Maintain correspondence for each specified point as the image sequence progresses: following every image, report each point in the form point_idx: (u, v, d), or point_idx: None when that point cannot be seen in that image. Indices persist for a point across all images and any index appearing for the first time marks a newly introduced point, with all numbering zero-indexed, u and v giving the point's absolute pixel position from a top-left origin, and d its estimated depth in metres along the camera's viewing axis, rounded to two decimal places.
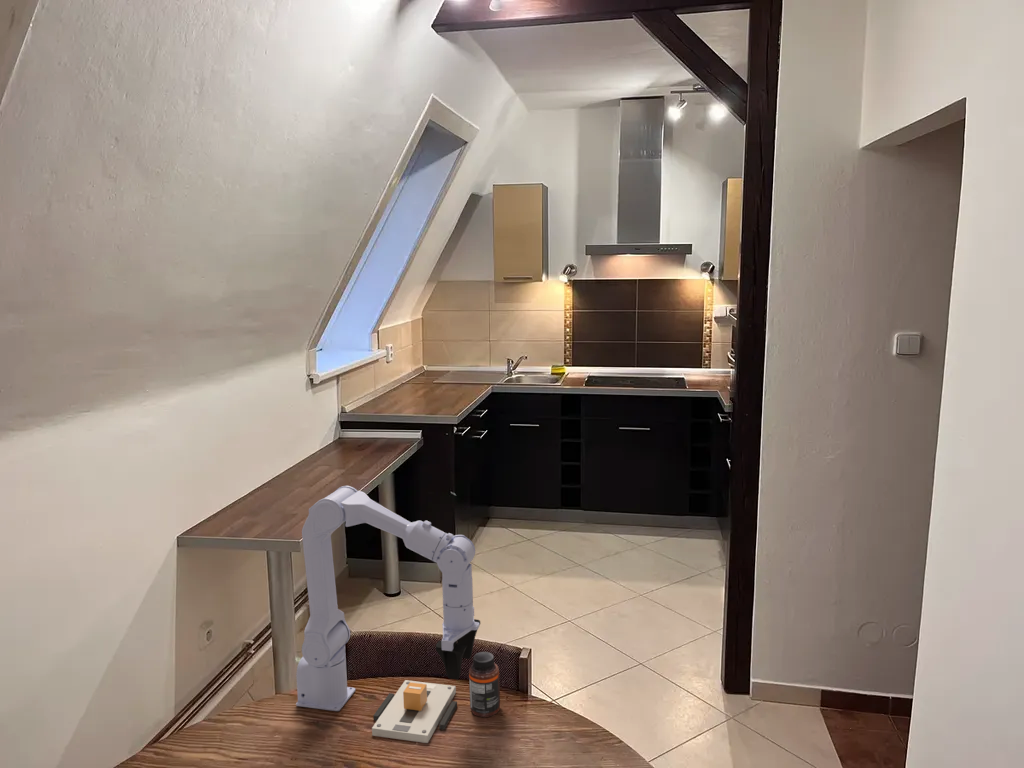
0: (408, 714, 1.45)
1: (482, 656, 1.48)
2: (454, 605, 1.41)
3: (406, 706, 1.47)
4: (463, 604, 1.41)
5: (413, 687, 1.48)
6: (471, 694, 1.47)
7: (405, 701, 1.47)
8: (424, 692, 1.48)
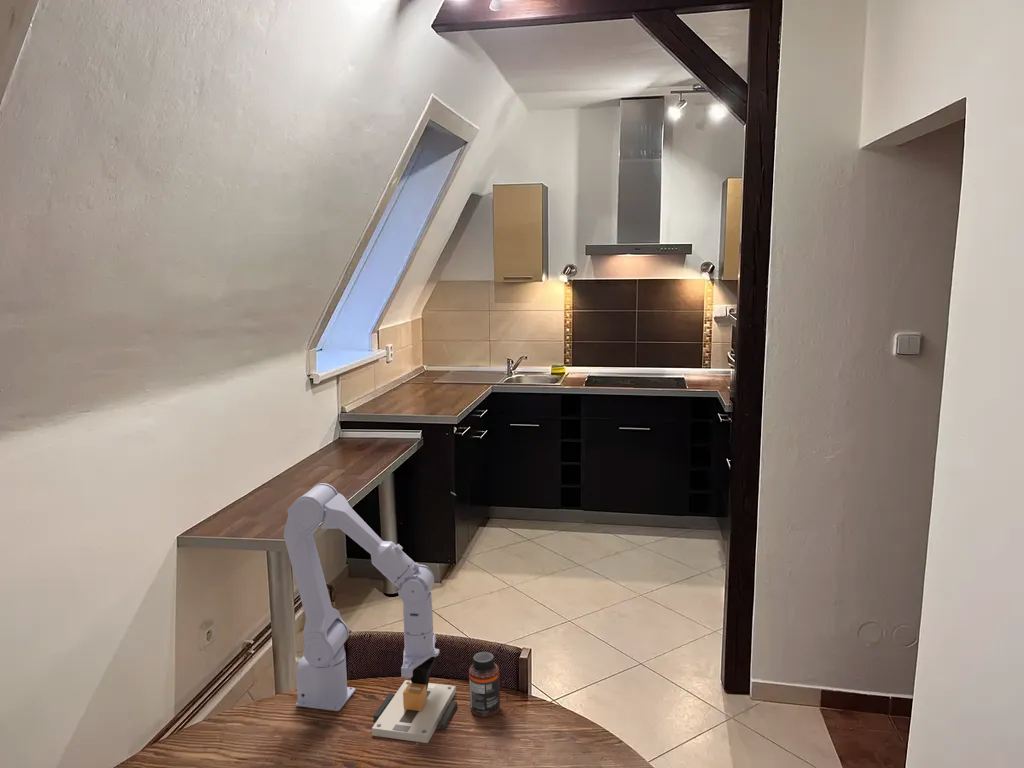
0: (408, 714, 1.45)
1: (482, 656, 1.48)
2: (415, 633, 1.46)
3: (406, 707, 1.47)
4: (424, 632, 1.47)
5: (413, 687, 1.48)
6: (471, 694, 1.47)
7: (405, 701, 1.47)
8: (424, 693, 1.48)
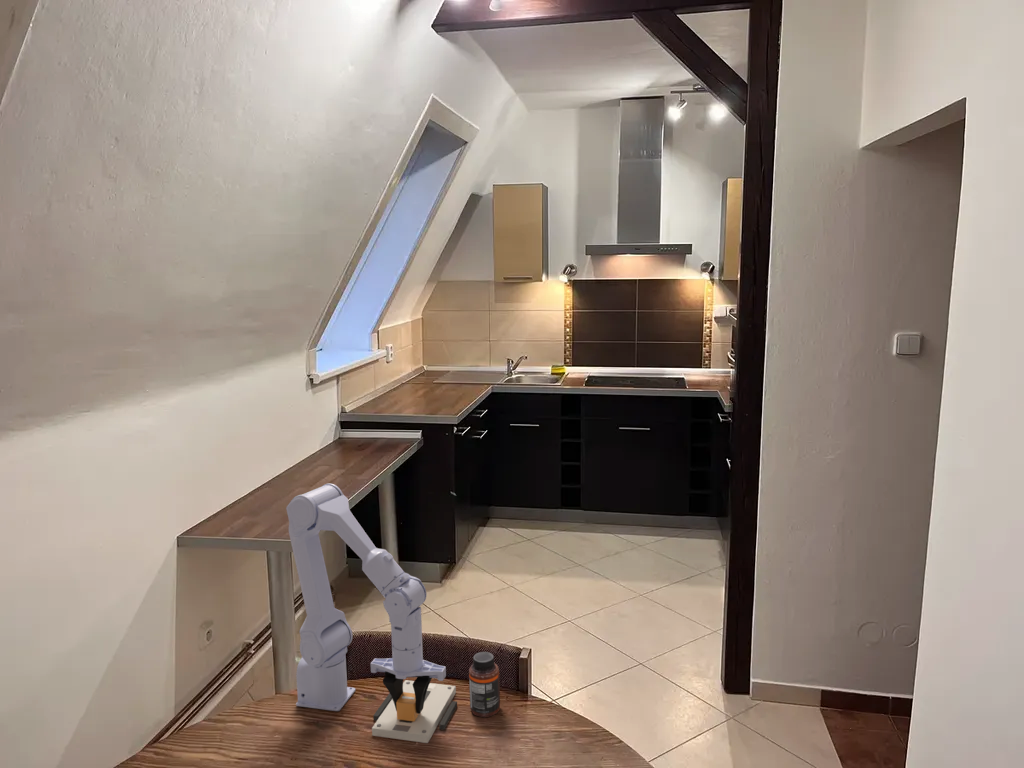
0: None
1: (482, 656, 1.48)
2: (399, 648, 1.40)
3: (399, 717, 1.44)
4: (408, 647, 1.40)
5: (407, 697, 1.45)
6: (471, 694, 1.47)
7: (398, 711, 1.43)
8: None
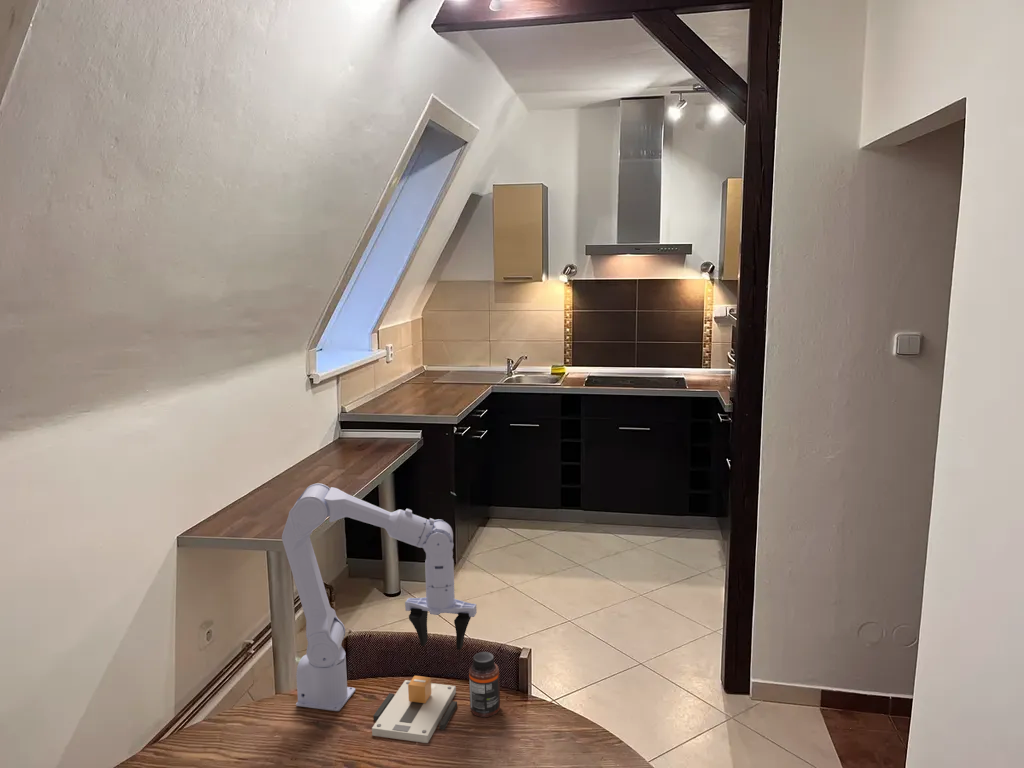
0: (408, 714, 1.45)
1: (482, 656, 1.48)
2: (440, 585, 1.49)
3: (411, 699, 1.49)
4: (448, 583, 1.50)
5: (418, 680, 1.51)
6: (471, 694, 1.47)
7: (410, 694, 1.49)
8: (428, 685, 1.50)
